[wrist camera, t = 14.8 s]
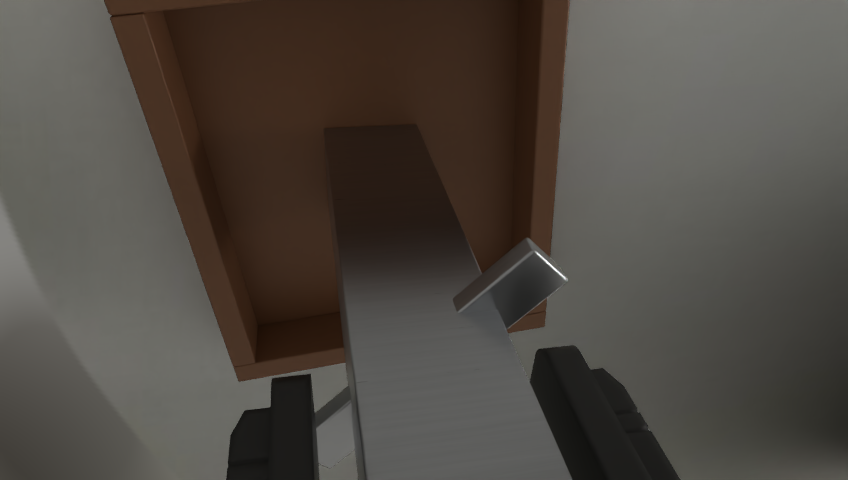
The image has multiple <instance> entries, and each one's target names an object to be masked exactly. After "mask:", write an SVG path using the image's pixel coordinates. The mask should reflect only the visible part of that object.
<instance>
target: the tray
mask: <svg viewBox="0 0 848 480" xmlns="http://www.w3.org/2000/svg"><path fill="white" fill-rule="evenodd" d="M104 2H105V4H106V7H107V10H108V13H109V14H110V15H112V16H111V17H110V20H111V23H112V26H113V28H114V31H115V34H116V37H117V40H118V42H119V45H120V48H121V51H122V54H123V57H124V59H125V62H126V65H127V68H128V71H129V74H130V76H131V79H132V82H133V85H134V88H135V91H136V93H137V96H138V99H139V102H140V105H141V107H142V110H143V113H144V116H145V119H146V122H147V124H148V127H149V130H150V133H151V136H152V139H153V141H154V144H155V147H156V150H157V153H158V156H159V158H160V161H161V164H162V167H163V170H164V172H165V175H166V178H167V181H168V184H169V187H170V189H171V192H172V195H173V198H174V201H175V204H176V206H177V209H178V212H179V215H180V218H181V221H182V223H183V226H184V229H185V232H186V235H187V237H188V240H189V243H190V246H191V249H192V252H193V254H194V257H195V260H196V263H197V266H198V269H199V271H200V274H201V277H202V280H203V283H204V286H205V288H206V291H207V294H208V297H209V300H210V302H211V305H212V308H213V311H214V314H215V317H216V319H217V322H218V325H219V328H220V331H221V334H222V336H223V339H224V342H225V345H226V348H227V351H228V353H229V356H230V359H231V362H232V365H233V366H234V370H235V373H236V376H237V378H238V381H240V382H241V381H246V380H252V379H257V378H263V377H268V376H274V375H279V374H285V373H290V372H296V371H302V370H307V369H313V368H318V367H324V366H329V365H335V364H340V363H345V354H344V344H343V335H342V326H341V316H340V307H339V298H338V289H337V279H336V270H335V261H334V252H333V242H332V233H331V224H330V214H329V203H328V188H327V172H326V157H325V142H324V129H325V128H345V127H368V126H391V125H413V124H416V125H417V126H418V129H419V131H420V133H421V135H422V138H423V140H424V142H425V145H426V147H427V149H428V151H429V154H430V156H431V158H432V160H433V163H434V165H435V167H436V170H437V172H438V174H439V176H440V179H441V181H442V183H443V186H444V188H445V190H446V192H447V195H448V197H449V199H450V202H451V204H452V206H453V208H454V211H455V213H456V215H457V218H458V220H459V222H460V224H461V227H462V229H463V231H464V233H465V236H466V238H467V240H468V243H469V245H470V247H471V249H472V252H473V254H474V256H475V259H476V261H477V263H478V265H479V268H480V270H481V272H482V274H483V273H484V272H485V271H486V270H487V269H488V268H490V267H491V266H492V265H493V264H494V263H496V262H497V261H498V260H499V259H500V258H502V257H503V256H504V255H505V254H506V253H508V252H509V251H510V250H511V249H512V248H514V247H515V246H516V245H517V244H518V243H520V242H521V241H522V240H523V239H524V238H526V237H527V238H529V239H530V240H532V241H533V242H534V243H535V244H536V245H537V246H538V247H539V248H540V249H541V250H542V251H544V252H545V253H546V254H547V255H548V256H549V257H550V252H551V239H552V226H553V213H554V200H555V187H556V174H557V161H558V148H559V136H560V123H561V110H562V97H563V84H564V71H565V58H566V45H567V32H568V19H569V6H570V0H104ZM546 304H547V298H546V299H545V300H544V301H543V302H541V303H540V304H539V305H538V306H536V307H535V308H534V309H532V310H531V311H530V312H529V313H527V314H526V315H525V316H524V317H522V318H521V319H520V320H518V321H517V322H516V323H515V324H513V325H512V326H511V327H510V328H508V329H507V332H508V333H512V332H518V331H523V330H529V329H534V328H540V327H544V326H545V319H546Z"/></svg>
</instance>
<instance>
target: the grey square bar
mask: <svg viewBox="0 0 848 480" xmlns="http://www.w3.org/2000/svg"><path fill="white" fill-rule="evenodd" d="M324 142H325V157H326V172H327V188H328V203H329V214H330V224H331V233H332V242H333V252H334V261H335V270H336V279H337V289H338V298H339V307H340V316H341V326H342V335H343V344H344V354H345V363H346V372H347V381H348V386H347V387H346V388H345V389H344V390H343V391H341V392H340V393H339V394H338V395H337V396H335V397H334V398H333V399H332V400H331V401H329V402H328V403H327V404H326V405H325V406H323V407H322V408H321V409H320V410H319V411H317V412H316V413H315V421H316V432H317V445H318V463H319V464H320V465H322V466H325V467H327V468H332V467H333V466H335V465H336V464H337V463H339V462H340V461H341V460H342V459H344V458H345V457H346V456H347V455H349V454H350V453H351V452H352V451H354V450H355V455H356V465H357V474H358V480H572V477H571V475H570V473H569V471H568V468H567V466H566V464H565V462H564V459H563V457H562V455H561V452H560V450H559V448H558V446H557V443H556V441H555V439H554V436H553V434H552V432H551V430H550V427H549V425H548V423H547V420H546V418H545V416H544V414H543V411H542V409H541V407H540V404H539V402H538V400H537V398H536V395H535V393H534V391H533V389H532V386H531V384H530V382H529V379H528V377H527V375H526V373H525V370H524V368H523V366H522V363H521V361H520V359H519V357H518V354H517V352H516V350H515V347H514V345H513V343H512V341H511V338H510V336H509V334H508V332H507V329H508V328H510V327H511V326H512V325H513V324H515V323H516V322H517V321H518V320H520V319H521V318H522V317H524V316H525V315H526V314H527V313H529V312H530V311H531V310H532V309H534V308H535V307H536V306H538V305H539V304H540V303H541V302H543V301H544V300H545V299H546V298H548V297H549V296H550V295H551V294H553V293H554V292H555V291H557V290H558V289H559V288H560V287H562V286H563V285H564V284H565V283H567V281H568V279H567V277H566V275H565V274H564V272H563V271H562V269H561V267H560V266H559V265H558V264H557V263H555V262H554V261H553V260H552V259H551V258H550V257H549V256H548V255H547V254H546V253H545V252H544V251H542V250H541V249H540V248H539V247H538V246H537V245H536V244H535V243H534V242H533V241H532V240H530V239H529V238H527V237H526V238H524V239H523V240H522V241H521V242H520V243H518V244H517V245H516V246H515V247H514V248H512V249H511V250H510V251H509V252H508V253H506V254H505V255H504V256H503V257H502V258H500V259H499V260H498V261H497V262H496V263H494V264H493V265H492V266H491V267H490V268H488V269H487V270H486V271H485V272H484V273H483V274H482V272H481V270H480V268H479V265H478V263H477V261H476V259H475V256H474V254H473V252H472V249H471V247H470V245H469V243H468V240H467V238H466V236H465V233H464V231H463V229H462V227H461V224H460V222H459V220H458V218H457V215H456V213H455V211H454V208H453V206H452V204H451V202H450V199H449V197H448V195H447V192H446V190H445V188H444V186H443V183H442V181H441V179H440V176H439V174H438V172H437V170H436V167H435V165H434V163H433V160H432V158H431V156H430V154H429V151H428V149H427V147H426V145H425V142H424V140H423V138H422V135H421V133H420V131H419V129H418V126H417V125H416V124H413V125H391V126H368V127H345V128H325V129H324Z"/></svg>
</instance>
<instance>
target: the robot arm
mask: <svg viewBox="0 0 848 480" xmlns="http://www.w3.org/2000/svg"><path fill="white" fill-rule="evenodd" d="M530 384H531V386H532V389H533V391H534V393H535V395H536V398H537V400H538V402H539V404H540V407H541V409H542V411H543V414H544V416H545V418H546V420H547V423H548V425H549V427H550V430H551V432H552V434H553V436H554V439H555V441H556V443H557V446H558V448H559V450H560V452H561V455H562V457H563V459H564V462H565V464H566V466H567V468H568V471H569V473H570V475H571V477H572V480H680V478H679V476H678V475H677V473H676V471H675V470H674V468H673V466H672V465H671V463H670V461H669V460H668V458H667V456H666V455H665V453H664V452H663V450H662V448H661V447H660V445H659V443H658V442H657V440H656V438H655V437H654V435H653V433H652V432H651V431H649V430H648V425H647V423H646V422H645V420H644V418H643V417H642V415H641V414H640V412H638V411H637V407H636V405H635V404H634V402H633V400H632V399H631V397H630V395H629V394H628V392H627V390H626V389H625V387H624V386H623V385H622V384H621V383H620V382H619V381H617V380H616V379H615V378H614V377H613V376H612V375H610V374H609V373H608V372H607V371H606V370H605V369H603V368H599V369H591V370H590V368H589V366H588V365H587V363H586V361H585V359H584V357H583V356H582V354H581V352H580V351H579V349H578V348H577V347H576V346H574V345H570V346H561V347H552V348H543V349H538V350H537V352H536V354H535V359H534V364H533V369H532V374H531V379H530ZM226 480H319V463H318V445H317V432H316V421H315V411H314V401H313V391H312V382H311V374H306V375H297V376H288V377H279V378H272V382H271V407H269V408H261V409H253V410H245V411H244V412H243V414H242V416H241V418H240V419H239V421H238V423H237V425H236V427H235V428H234V430H233V432H232V434H231V436H230V447H229V457H228V468H227V478H226Z"/></svg>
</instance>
